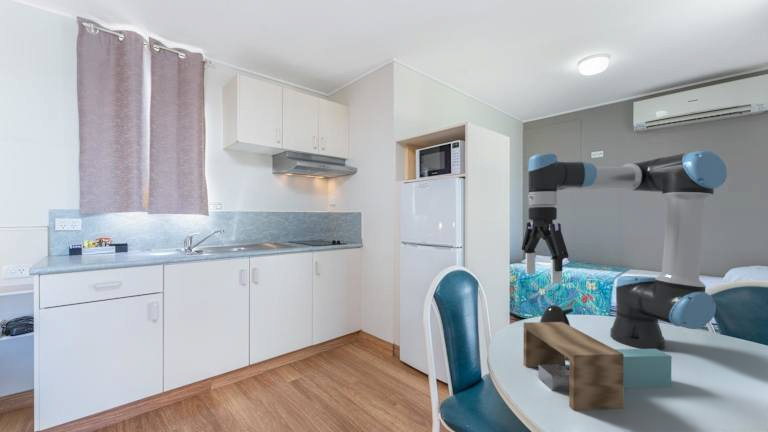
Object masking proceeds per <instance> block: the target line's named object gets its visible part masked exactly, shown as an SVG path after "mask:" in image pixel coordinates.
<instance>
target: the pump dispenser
mask: <svg viewBox="0 0 768 432" xmlns="http://www.w3.org/2000/svg"><path fill="white" fill-rule="evenodd" d="M573 312H574V310H573V308H568V309H563V308H562V307H560V306H559V305H556V304H552V305H549V306H547V307H546V308H545V309H544V311H543V313H542V315H541V318H540V321H539V322H563V323H565V324H567V325H569V326H571V324H570V321H569V318H568V317H567V315H568V314H570V313H573Z"/></svg>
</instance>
